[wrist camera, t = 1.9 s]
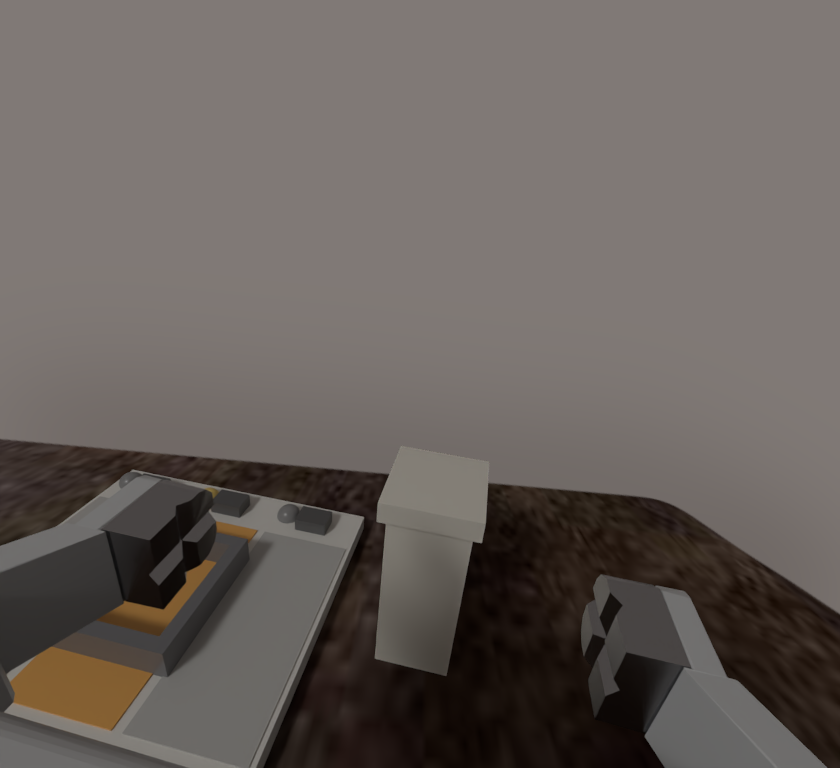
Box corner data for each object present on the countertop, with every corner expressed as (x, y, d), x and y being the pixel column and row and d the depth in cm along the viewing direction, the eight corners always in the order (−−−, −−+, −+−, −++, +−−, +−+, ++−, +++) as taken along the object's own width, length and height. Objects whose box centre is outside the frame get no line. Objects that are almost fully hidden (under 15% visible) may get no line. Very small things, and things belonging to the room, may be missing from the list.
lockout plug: (460, 607, 30) (489, 461, 25) (452, 684, 25) (485, 524, 20) (387, 591, 31) (401, 445, 26) (366, 663, 26) (378, 502, 21)
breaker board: (363, 528, 36) (365, 497, 35) (247, 804, 20) (242, 766, 18) (135, 480, 38) (128, 450, 37) (-135, 691, 22) (-164, 650, 21)
